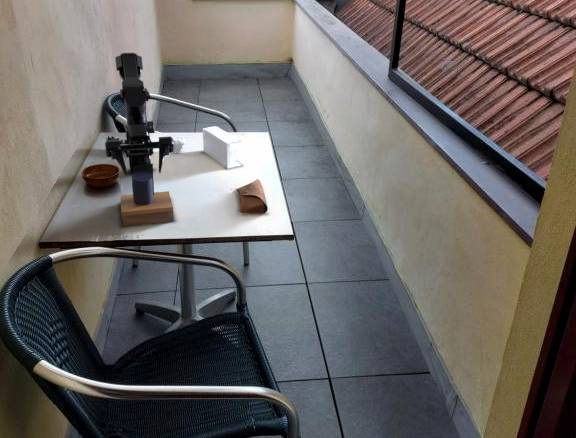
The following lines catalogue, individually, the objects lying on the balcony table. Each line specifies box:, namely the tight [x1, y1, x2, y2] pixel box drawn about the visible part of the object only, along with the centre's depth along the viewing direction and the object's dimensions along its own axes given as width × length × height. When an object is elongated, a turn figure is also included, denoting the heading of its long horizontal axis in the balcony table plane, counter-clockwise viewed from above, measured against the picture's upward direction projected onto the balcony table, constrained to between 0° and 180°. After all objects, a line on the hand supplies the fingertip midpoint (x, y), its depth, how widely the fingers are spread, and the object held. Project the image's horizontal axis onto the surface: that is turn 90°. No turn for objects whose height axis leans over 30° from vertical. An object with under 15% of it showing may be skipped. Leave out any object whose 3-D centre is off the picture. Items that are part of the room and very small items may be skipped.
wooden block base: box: [119, 190, 175, 227], centre depth 160 cm, size 15×14×4 cm
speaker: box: [131, 163, 155, 205], centre depth 155 cm, size 8×6×10 cm
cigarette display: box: [202, 125, 242, 170], centre depth 198 cm, size 20×6×9 cm, turn 34°
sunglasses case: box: [236, 178, 269, 215], centre depth 169 cm, size 18×7×7 cm
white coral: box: [172, 135, 186, 154], centre depth 203 cm, size 7×8×6 cm
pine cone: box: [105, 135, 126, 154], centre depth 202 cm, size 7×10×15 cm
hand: (143, 174), depth 154 cm, fingers open, 9 cm apart
